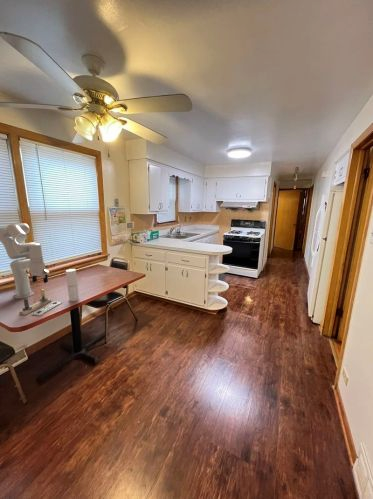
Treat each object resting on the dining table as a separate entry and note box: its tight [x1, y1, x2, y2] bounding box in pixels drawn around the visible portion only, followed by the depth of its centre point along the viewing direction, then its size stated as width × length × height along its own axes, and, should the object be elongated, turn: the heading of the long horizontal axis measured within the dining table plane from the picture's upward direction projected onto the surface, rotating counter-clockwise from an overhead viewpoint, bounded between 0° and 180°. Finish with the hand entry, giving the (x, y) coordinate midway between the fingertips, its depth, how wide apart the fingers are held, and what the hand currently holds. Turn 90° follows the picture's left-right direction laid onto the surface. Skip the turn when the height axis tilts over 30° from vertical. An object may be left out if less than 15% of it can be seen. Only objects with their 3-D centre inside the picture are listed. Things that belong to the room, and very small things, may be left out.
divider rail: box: [18, 297, 52, 316], centre depth 157 cm, size 5×22×10 cm, turn 169°
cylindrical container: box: [65, 268, 80, 302], centre depth 169 cm, size 7×7×25 cm
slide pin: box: [39, 288, 49, 301], centre depth 163 cm, size 5×3×9 cm, turn 79°
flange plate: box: [31, 300, 63, 317], centre depth 156 cm, size 7×20×1 cm, turn 169°
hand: (40, 282), depth 158 cm, fingers open, 9 cm apart
